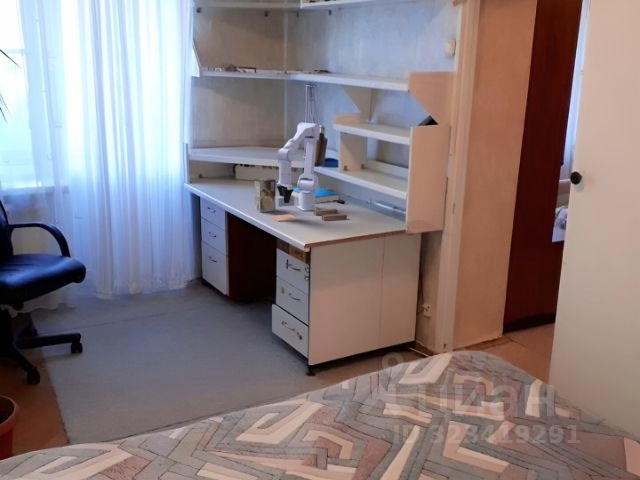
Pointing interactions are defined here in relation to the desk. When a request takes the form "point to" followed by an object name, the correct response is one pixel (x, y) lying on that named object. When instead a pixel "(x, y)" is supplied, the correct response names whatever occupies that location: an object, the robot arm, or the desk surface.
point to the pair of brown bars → (334, 215)
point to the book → (319, 195)
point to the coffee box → (264, 194)
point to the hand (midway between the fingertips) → (284, 201)
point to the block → (280, 201)
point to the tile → (284, 218)
